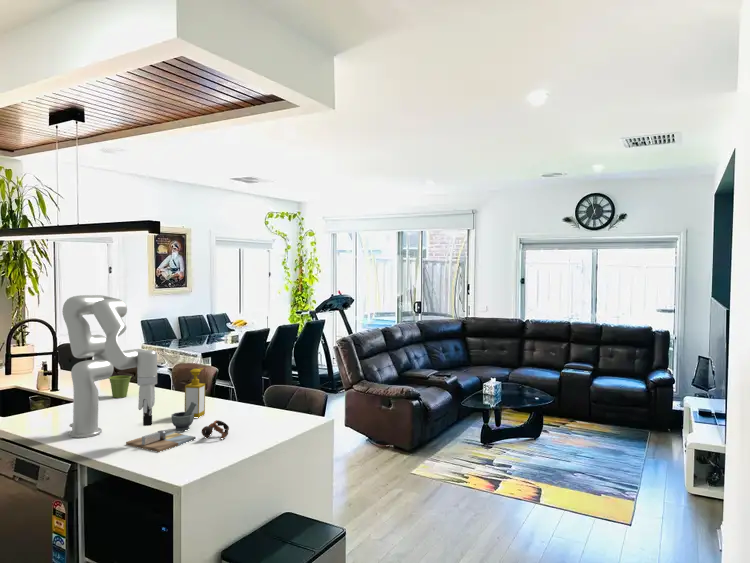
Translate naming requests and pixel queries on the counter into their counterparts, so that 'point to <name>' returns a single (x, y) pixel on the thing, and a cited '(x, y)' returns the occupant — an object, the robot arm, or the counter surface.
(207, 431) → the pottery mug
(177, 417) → the mortar and pestle
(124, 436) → the counter surface
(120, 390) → the plant pot
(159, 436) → the bar
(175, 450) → the counter surface
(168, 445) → the latch board
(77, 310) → the robot arm
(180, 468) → the counter surface
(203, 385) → the white and gold bottle
